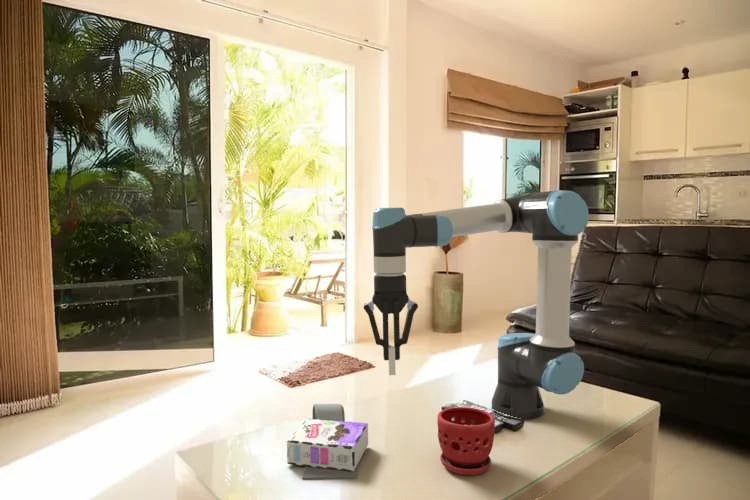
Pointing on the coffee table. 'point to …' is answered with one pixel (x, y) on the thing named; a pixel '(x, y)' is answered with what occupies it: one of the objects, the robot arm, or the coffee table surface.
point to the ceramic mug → (328, 412)
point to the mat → (327, 473)
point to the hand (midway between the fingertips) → (392, 373)
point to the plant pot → (465, 439)
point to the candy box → (328, 444)
